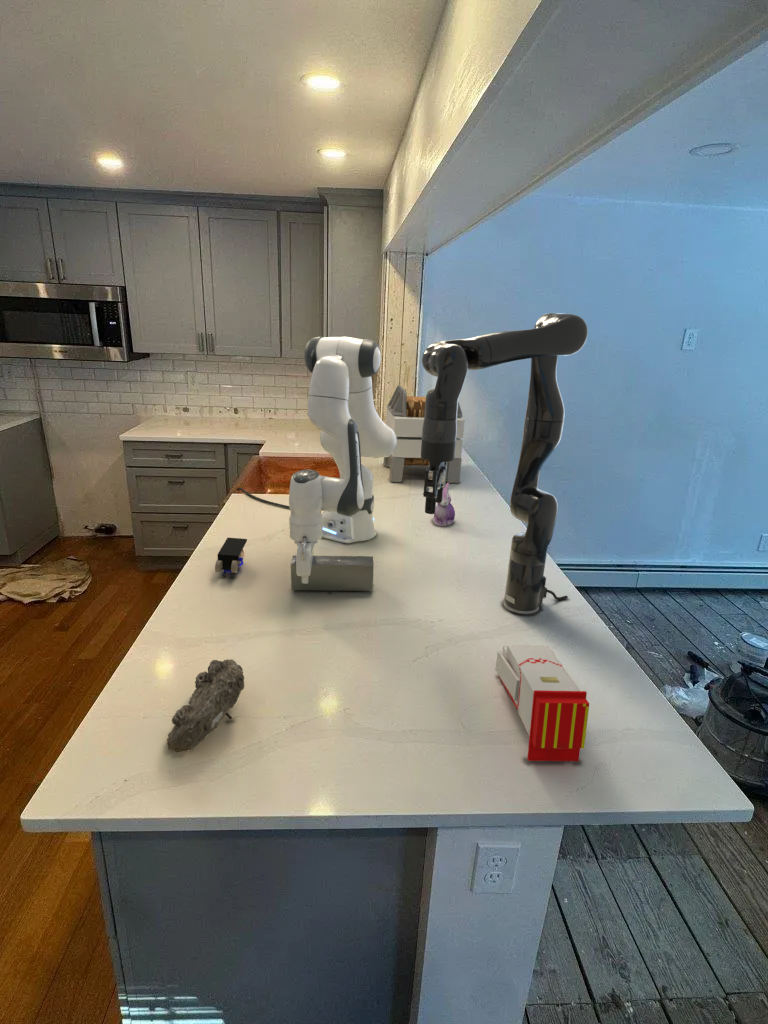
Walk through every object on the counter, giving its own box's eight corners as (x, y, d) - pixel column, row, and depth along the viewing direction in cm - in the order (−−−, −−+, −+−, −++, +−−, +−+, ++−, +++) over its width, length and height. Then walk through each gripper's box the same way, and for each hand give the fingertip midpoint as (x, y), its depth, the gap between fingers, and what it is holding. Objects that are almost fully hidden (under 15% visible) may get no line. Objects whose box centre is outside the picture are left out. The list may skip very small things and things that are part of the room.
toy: (545, 627, 125) (599, 699, 96) (539, 683, 128) (590, 769, 99) (490, 626, 125) (528, 698, 96) (486, 682, 128) (522, 768, 98)
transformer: (382, 463, 289) (386, 382, 275) (445, 464, 293) (451, 384, 279) (390, 482, 257) (394, 392, 243) (460, 483, 261) (468, 394, 247)
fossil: (192, 660, 117) (244, 628, 112) (224, 691, 120) (276, 661, 115) (142, 746, 98) (202, 712, 93) (182, 779, 101) (242, 748, 96)
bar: (291, 590, 156) (290, 564, 153) (293, 580, 161) (292, 555, 159) (372, 590, 157) (373, 565, 155) (371, 581, 163) (372, 556, 160)
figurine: (440, 528, 206) (443, 489, 201) (425, 519, 214) (428, 481, 209) (461, 525, 210) (465, 486, 205) (446, 516, 219) (449, 478, 214)
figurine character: (238, 584, 162) (249, 557, 175) (236, 562, 158) (247, 536, 172) (215, 584, 161) (227, 556, 175) (212, 561, 158) (225, 535, 171)
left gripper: (315, 545, 144) (315, 594, 148) (319, 517, 163) (319, 561, 167) (290, 545, 143) (291, 594, 148) (297, 516, 162) (297, 560, 167)
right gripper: (450, 446, 117) (444, 519, 122) (460, 433, 130) (454, 500, 135) (415, 442, 119) (410, 515, 124) (428, 430, 132) (424, 496, 137)
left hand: (306, 576), depth 158 cm, fingers closed on bar, 6 cm apart
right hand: (433, 507), depth 130 cm, fingers open, 8 cm apart
